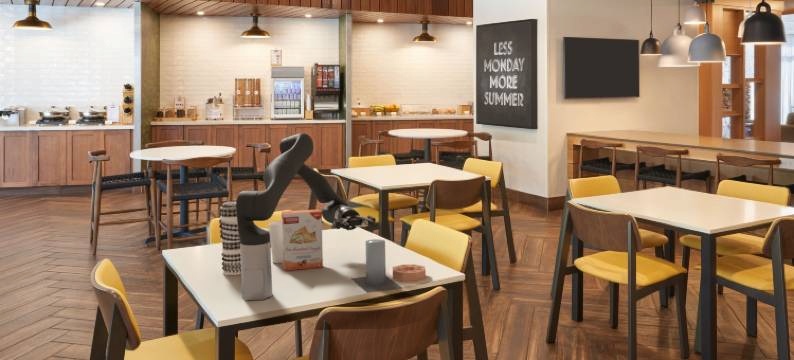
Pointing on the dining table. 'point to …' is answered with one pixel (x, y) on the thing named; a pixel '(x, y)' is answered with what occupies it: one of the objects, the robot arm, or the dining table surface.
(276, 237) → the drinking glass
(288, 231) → the cracker box
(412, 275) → the pink donut
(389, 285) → the mat
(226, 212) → the decorative candle
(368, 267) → the grey pillar
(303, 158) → the robot arm
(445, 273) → the dining table surface
